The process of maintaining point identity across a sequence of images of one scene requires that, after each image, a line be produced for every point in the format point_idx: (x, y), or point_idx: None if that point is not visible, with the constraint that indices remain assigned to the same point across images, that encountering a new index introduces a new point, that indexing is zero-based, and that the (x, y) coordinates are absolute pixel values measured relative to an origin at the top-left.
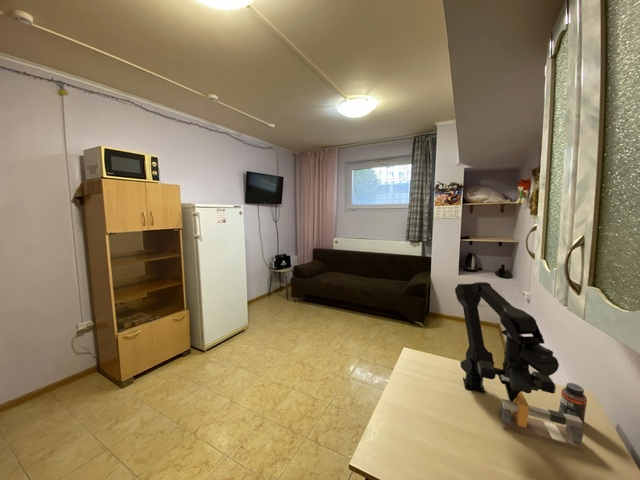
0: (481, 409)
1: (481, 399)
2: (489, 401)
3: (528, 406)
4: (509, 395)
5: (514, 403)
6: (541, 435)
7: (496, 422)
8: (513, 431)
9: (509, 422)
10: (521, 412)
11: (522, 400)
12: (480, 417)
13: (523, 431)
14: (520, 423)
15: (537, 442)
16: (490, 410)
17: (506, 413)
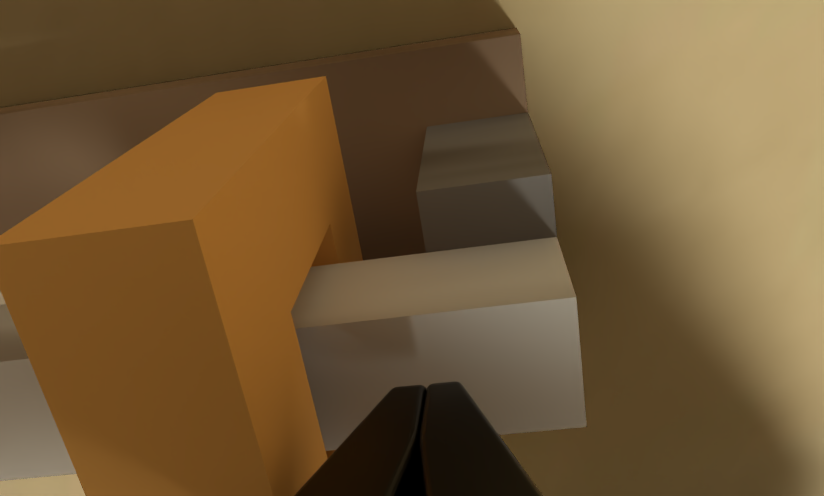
0: (760, 281)
1: (719, 470)
2: (622, 478)
3: (3, 253)
4: (492, 461)
5: (357, 390)
6: (60, 128)
7: (595, 117)
8: (392, 48)
9: (440, 130)
10: (233, 148)
11: (159, 439)
12: (814, 100)
13: (267, 75)
14: (289, 90)
15: (119, 9)
16: (638, 321)
17: (503, 165)
